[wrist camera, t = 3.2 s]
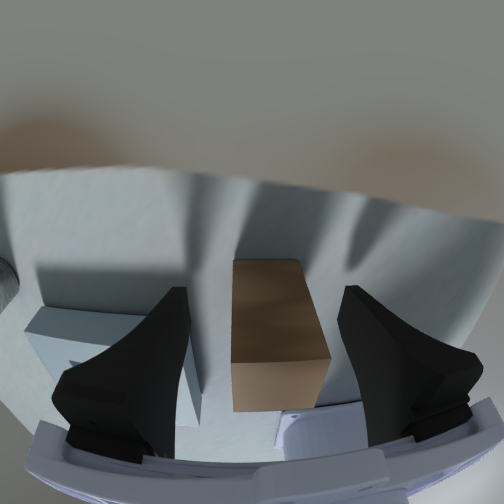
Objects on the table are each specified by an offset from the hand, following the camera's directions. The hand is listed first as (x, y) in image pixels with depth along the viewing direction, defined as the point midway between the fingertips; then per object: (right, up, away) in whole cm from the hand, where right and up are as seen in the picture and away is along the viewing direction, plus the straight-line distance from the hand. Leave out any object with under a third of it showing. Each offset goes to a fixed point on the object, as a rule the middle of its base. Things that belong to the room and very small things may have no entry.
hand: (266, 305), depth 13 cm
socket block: (-9, -5, +4) cm, 11 cm away
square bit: (0, +1, +1) cm, 1 cm away
